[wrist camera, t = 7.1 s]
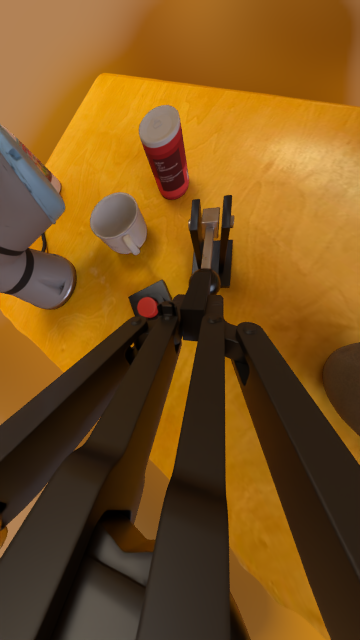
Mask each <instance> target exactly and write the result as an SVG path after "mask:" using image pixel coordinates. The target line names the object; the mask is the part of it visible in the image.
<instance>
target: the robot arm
mask: <svg viewBox="0 0 360 640" xmlns="http://www.w3.org/2000/svg"><path fill="white" fill-rule="evenodd" d="M64 210H65V204H64V201H63V199H62V197H61V196H60V194H59V193H58V192H57V190H56V189H55V188H54V186H53V185H52V184H51V183H50V181H49V180H48V179H47V178H46V176H45V175H44V174H43V173H42V171H41V170H40V169H39V168H38V167H37V165H36V164H35V163H34V162H33V161H32V160H31V158H30V157H29V156H28V155H27V154H26V153H25V151H24V150H23V149H22V148H21V147H20V146H19V145H18V143H17V142H16V141H15V140H14V139H13V138H12V137H11V136H10V134H9V133H8V132H7V131H6V130H5V129H4V128H3V127H2V126H1V125H0V293H5V294H10V295H13V296H15V297H17V298H20V299H21V300H24V301H26V302H29V303H31V304H33V305H34V306H37V307H39V308H44V309H56V308H59V307H61V306H62V305H64V304H65V303H66V302H67V301H68V300H69V298H70V297H71V295H72V294H73V291H74V289H75V285H76V271H75V268H74V266H73V264H72V263H71V262H70V261H69V260H67V259H65V258H63V257H61V256H59V255H55V254H48V253H45V249H46V240H45V236H44V232H45V231H46V230H47V229H48V228H49V227H50V226H51V225H52V224H55V223H56V220H57V219H58V218H59V217H60V216H61V214H62V213H63V212H64ZM40 236H42V240H43V247H42V251H38V250H33V249H30V248H28V247H29V246H30V245H31V244H32V243H33V242H34V241H36V240H37V239H38V238H39V237H40ZM210 284H211V272H195V274H194V276H193V278H192V281H191V283H190V286H189V288H188V290H187V293H186V295H180V294H178V295H177V296H175V297H174V298H173V300H172V301H163V302H161V303H159V304H158V305H157V310H158V314H159V317H158V319H156V320H151V321H147V319H146V317H144V316H135V317H132V318H131V319H129V320H128V321H126V322H125V323H124V324H123V325H122V326H120V327H119V328H118V329H117V330H116V331H114V332H113V333H112V334H111V335H109V336H108V337H107V338H106V339H105V340H103V341H102V342H101V343H100V344H99V345H97V346H96V347H95V348H94V349H92V350H91V351H90V352H89V353H88V354H86V355H85V356H84V357H83V358H82V359H80V360H79V361H78V362H77V363H75V364H74V365H73V366H72V367H71V368H69V369H68V370H67V371H66V372H65V373H63V374H62V375H61V376H60V377H58V378H57V379H56V380H55V381H54V382H52V383H51V384H50V385H49V386H48V387H46V388H45V389H44V390H43V391H41V392H40V393H39V394H38V395H37V396H35V397H34V398H33V399H32V400H31V401H30V402H28V403H27V404H26V405H24V406H23V407H22V408H21V409H20V410H18V411H17V412H16V413H15V414H14V415H12V416H11V417H10V418H9V419H7V420H6V421H5V422H4V423H3V424H1V425H0V548H1V547H2V546H3V544H4V541H5V539H6V537H7V533H8V530H7V527H6V525H7V524H8V523H9V522H10V521H12V519H14V518H15V517H16V516H17V515H18V514H19V513H20V512H21V511H22V510H23V509H24V508H25V507H26V506H27V505H28V504H29V503H30V502H31V501H32V500H33V499H34V498H35V497H36V495H37V494H38V493H39V492H40V491H41V490H42V489H43V487H44V486H45V485H46V484H47V483H48V484H47V485H46V487H45V488H44V490H43V492H42V493H41V495H40V496H39V498H38V500H37V501H36V503H35V504H34V506H33V508H32V509H31V511H30V512H29V514H28V515H27V517H26V519H25V520H24V522H23V523H22V525H21V527H20V528H19V530H18V531H17V533H16V535H15V536H14V538H13V539H12V541H11V542H10V544H9V546H8V547H7V549H6V550H5V552H4V554H3V555H2V557H1V558H0V640H251V639H250V637H249V634H248V631H247V629H246V626H245V623H244V621H243V619H242V616H241V614H240V611H239V609H238V607H237V604H236V602H235V600H234V598H233V596H232V594H231V592H230V589H229V588H230V584H229V530H228V509H227V500H226V482H225V357H227V358H230V359H231V361H232V364H233V367H234V370H235V373H236V376H237V378H238V381H239V384H240V387H241V390H242V393H243V396H244V398H245V401H246V404H247V407H248V410H249V413H250V415H251V418H252V421H253V424H254V427H255V430H256V433H257V435H258V438H259V441H260V444H261V447H262V450H263V453H264V455H265V458H266V461H267V464H268V467H269V470H270V473H271V475H272V478H273V481H274V484H275V487H276V490H277V492H278V495H279V498H280V501H281V504H282V507H283V510H284V512H285V515H286V518H287V521H288V524H289V527H290V530H291V532H292V535H293V538H294V541H295V544H296V547H297V550H298V552H299V555H300V558H301V561H302V564H303V567H304V570H305V572H306V575H307V578H308V581H309V584H310V586H311V589H312V592H313V594H314V597H315V600H316V602H317V605H318V607H319V610H320V613H321V615H322V618H323V621H324V623H325V626H326V628H327V631H328V633H329V635H330V638H331V640H360V465H359V464H358V462H357V461H356V460H355V458H354V457H353V455H352V454H351V453H350V451H349V450H348V448H347V447H346V445H345V444H344V443H343V441H342V440H341V438H340V437H339V436H338V434H337V433H336V431H335V430H334V429H333V427H332V426H331V424H330V423H329V422H328V420H327V419H326V417H325V416H324V415H323V413H322V412H321V410H320V409H319V408H318V406H317V405H316V403H315V402H314V400H313V399H312V398H311V396H310V395H309V393H308V392H307V391H306V389H305V388H304V386H303V385H302V384H301V382H300V381H299V379H298V378H297V377H296V375H295V374H294V372H293V371H292V370H291V368H290V367H289V365H288V364H287V363H286V361H285V360H284V358H283V357H282V355H281V354H280V353H279V351H278V350H277V348H276V347H275V346H274V344H273V343H272V341H271V340H270V339H269V337H268V336H267V334H266V333H265V332H264V330H263V329H262V328H261V327H260V326H259V325H257V324H255V323H251V322H243V323H240V324H239V325H238V326H235V325H232V324H229V323H227V322H226V321H225V320H224V317H223V297H222V296H221V295H210ZM182 336H183V340H189V341H198V343H197V348H196V354H195V359H194V364H193V369H192V375H191V380H190V385H189V390H188V396H187V401H186V406H185V412H184V417H183V422H182V427H181V433H180V438H179V443H178V448H177V454H176V459H175V464H174V469H173V473H172V477H171V479H170V482H169V485H168V488H167V491H166V495H165V498H164V502H163V507H162V511H161V516H160V521H159V526H158V531H157V536H156V540H148V539H146V538H145V537H144V536H143V535H142V534H141V532H140V531H139V530H138V529H137V528H136V527H135V526H134V522H135V518H136V515H137V511H138V507H139V504H140V500H141V497H142V492H143V487H144V478H145V470H146V465H147V462H148V459H149V455H150V452H151V448H152V445H153V442H154V438H155V435H156V431H157V428H158V425H159V421H160V418H161V414H162V411H163V407H164V404H165V401H166V397H167V394H168V390H169V387H170V383H171V380H172V377H173V373H174V370H175V366H176V363H177V360H178V356H179V353H180V349H181V346H182V341H181V339H182ZM133 343H134V346H133V347H132V348H131V345H132V344H133ZM100 417H101V418H100ZM99 418H100V419H99ZM98 420H99V421H98ZM97 421H98V423H97V425H96V426H95V428H94V430H93V431H92V433H91V435H90V437H89V438H88V440H87V441H86V443H85V444H84V445H83V446H82V447H80V448H78V449H77V450H75V448H76V447H77V446H78V445H79V443H80V442H81V441H82V439H83V438H84V437H85V436H86V435H87V433H88V432H89V431H90V429H91V428H92V427H93V426H94V425H95V423H96V422H97ZM74 450H75V451H74Z"/></svg>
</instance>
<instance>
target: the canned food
mask: <svg viewBox="0 0 360 640" xmlns="http://www.w3.org/2000/svg"><path fill="white" fill-rule="evenodd" d="M139 135H140V139H141V142H142V144H143V147H144V150H145V153H146V156H147V158H148V161H149V164H150V166H151V169H152V172H153V175H154V177H155V180H156V183H157V185H158V188H159V191H160V193H161V194H162V195H163V196H164V197H165V198H166V199H170V200H173V199H177V198H179V197H181V196H182V195H183V194H184V193H185V192H186V190H187V188H188V184H189V176H188V169H187V162H186V156H185V149H184V142H183V135H182V129H181V123H180V118H179V114H178V111H177V110H176V109H175V108H174V107H172V106H169V105H163V106H159V107H156V108H154V109H152V110H151V111H150V112H148V113H147V114H146V115H145V117H144V118H143V120H142V121H141V124H140V126H139Z"/></svg>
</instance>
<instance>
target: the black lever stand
mask: <svg viewBox="0 0 360 640" xmlns="http://www.w3.org/2000/svg"><path fill="white" fill-rule="evenodd" d="M231 206H232V195H227V196H224V200H223V214H222V227H221V240H220V241H213V250H212V261H211V269H212V270H214V271H215V272H216V273H217V274H218V276H219V278H220V282H221V285H220V288H229V287H230V278H231V261H232V244H233V240H228V238H229V231H230V228H233V225H234V215H233V216H231ZM201 222H202V216H201V206H200V199H196V200H192V210H191V220H189V231H190V234H191V239H192V243H193V248H194V256H193V267H192V274H193V273H194V272H195V271H196V270H198V269H201V264H202V255H203V247H204V239H202V226H201Z"/></svg>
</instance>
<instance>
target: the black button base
mask: <svg viewBox="0 0 360 640" xmlns="http://www.w3.org/2000/svg"><path fill="white" fill-rule="evenodd" d="M145 297H150V298H152V299H154V300H155V301H157V303H158V304H159V303H161V302H163V301H172V298H171V296H170V294H169V291H168V289H167V286H166V284H165V282H164V281H163V280H160V281H158V282H156V283H155V284H153V285H151V286H149V287H147V288H145V289H143V290H141V291H139V292H137V293H135V294H133V295H131V296H129V300H130V303H131V306H132V309H133V312H134V314H135V316H141V315H140V314H139V312H138V309H137V306H138V303H139V301H140V300H141V299H142V298H145ZM158 317H159V314H157V315H156V316H155V317H153V318H147V317H146V319H147V321H151V320H156V319H158Z"/></svg>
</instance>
